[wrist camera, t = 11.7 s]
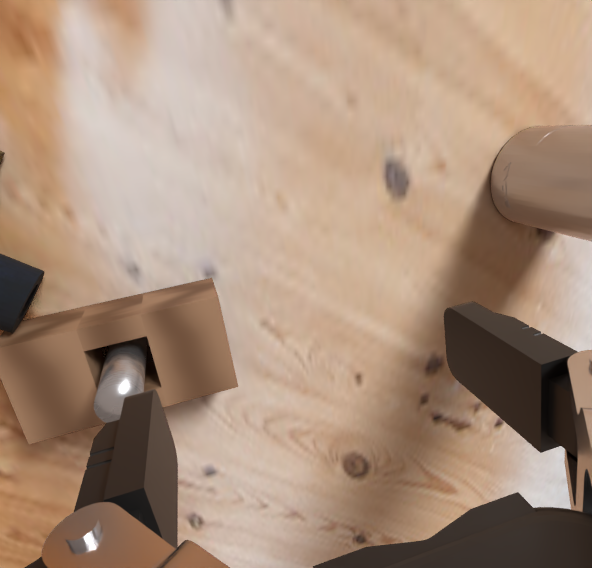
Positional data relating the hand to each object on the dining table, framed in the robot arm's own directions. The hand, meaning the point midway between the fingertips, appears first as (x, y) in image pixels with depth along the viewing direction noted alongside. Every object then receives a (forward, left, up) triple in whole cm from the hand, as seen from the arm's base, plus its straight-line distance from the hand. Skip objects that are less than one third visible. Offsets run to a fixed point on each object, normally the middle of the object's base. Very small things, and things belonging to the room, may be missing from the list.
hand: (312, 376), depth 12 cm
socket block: (+9, +9, -28) cm, 31 cm away
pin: (+9, +9, -28) cm, 31 cm away
